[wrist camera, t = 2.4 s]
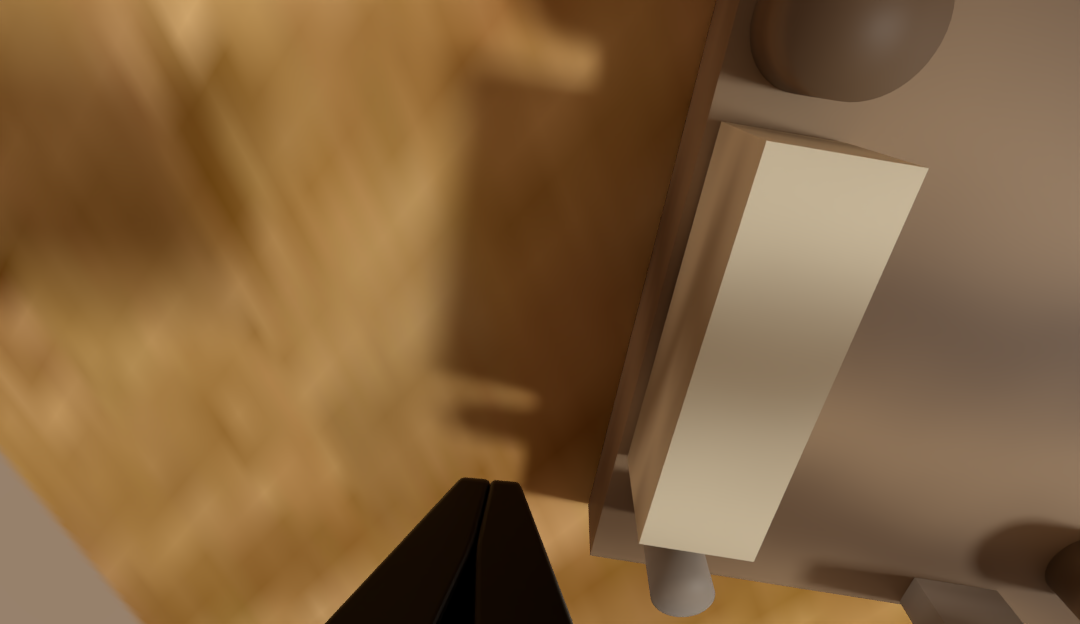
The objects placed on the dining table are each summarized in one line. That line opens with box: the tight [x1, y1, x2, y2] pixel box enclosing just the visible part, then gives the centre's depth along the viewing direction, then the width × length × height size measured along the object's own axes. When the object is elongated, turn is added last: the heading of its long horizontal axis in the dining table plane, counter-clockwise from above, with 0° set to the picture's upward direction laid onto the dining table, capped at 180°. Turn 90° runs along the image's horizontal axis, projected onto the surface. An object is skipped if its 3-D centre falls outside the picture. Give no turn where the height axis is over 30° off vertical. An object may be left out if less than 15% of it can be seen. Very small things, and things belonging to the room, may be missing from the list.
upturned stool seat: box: [588, 0, 1080, 624], centre depth 12 cm, size 16×15×5 cm
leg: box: [627, 121, 929, 562], centre depth 11 cm, size 8×2×3 cm, turn 171°
